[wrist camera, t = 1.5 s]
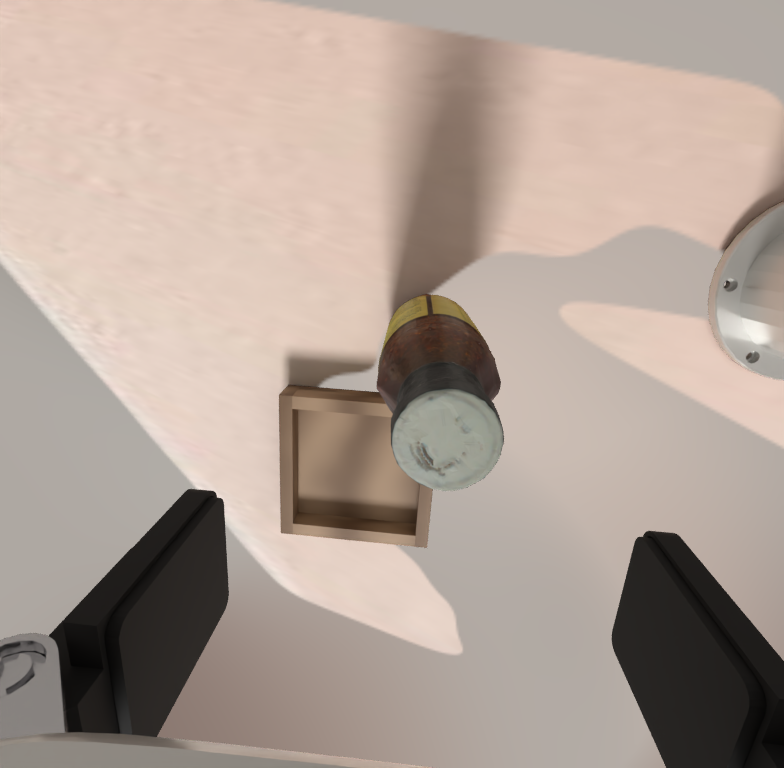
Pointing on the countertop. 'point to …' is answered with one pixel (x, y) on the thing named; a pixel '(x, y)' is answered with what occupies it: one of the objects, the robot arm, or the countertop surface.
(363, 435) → the tray
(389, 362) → the sauce bottle
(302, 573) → the countertop surface
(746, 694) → the robot arm
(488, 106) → the countertop surface
